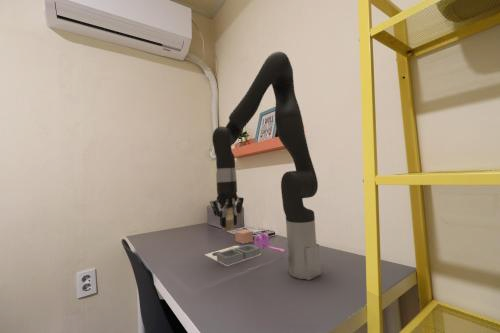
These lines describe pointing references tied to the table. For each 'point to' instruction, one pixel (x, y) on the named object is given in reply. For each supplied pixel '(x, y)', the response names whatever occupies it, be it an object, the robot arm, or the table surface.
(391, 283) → the table surface
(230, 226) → the peg
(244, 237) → the orange cube
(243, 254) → the board
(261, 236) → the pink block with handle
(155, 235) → the table surface
